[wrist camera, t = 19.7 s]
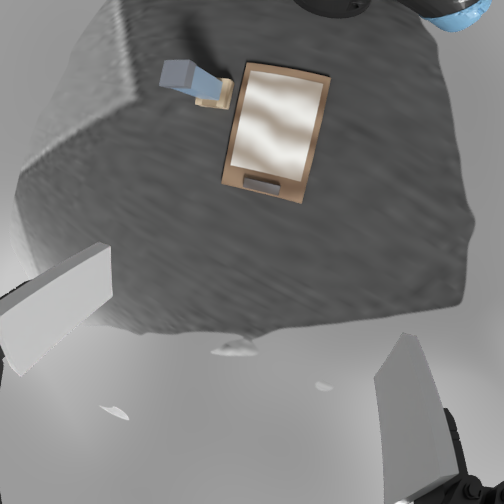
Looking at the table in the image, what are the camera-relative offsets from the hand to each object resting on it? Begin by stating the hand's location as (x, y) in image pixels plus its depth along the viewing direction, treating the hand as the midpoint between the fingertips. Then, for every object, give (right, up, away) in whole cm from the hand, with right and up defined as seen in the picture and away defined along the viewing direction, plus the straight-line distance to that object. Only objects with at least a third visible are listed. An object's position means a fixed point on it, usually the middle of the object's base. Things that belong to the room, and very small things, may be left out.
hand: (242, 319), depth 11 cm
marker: (-6, +29, +29) cm, 41 cm away
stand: (-5, +30, +30) cm, 43 cm away
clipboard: (+4, +23, +31) cm, 38 cm away
